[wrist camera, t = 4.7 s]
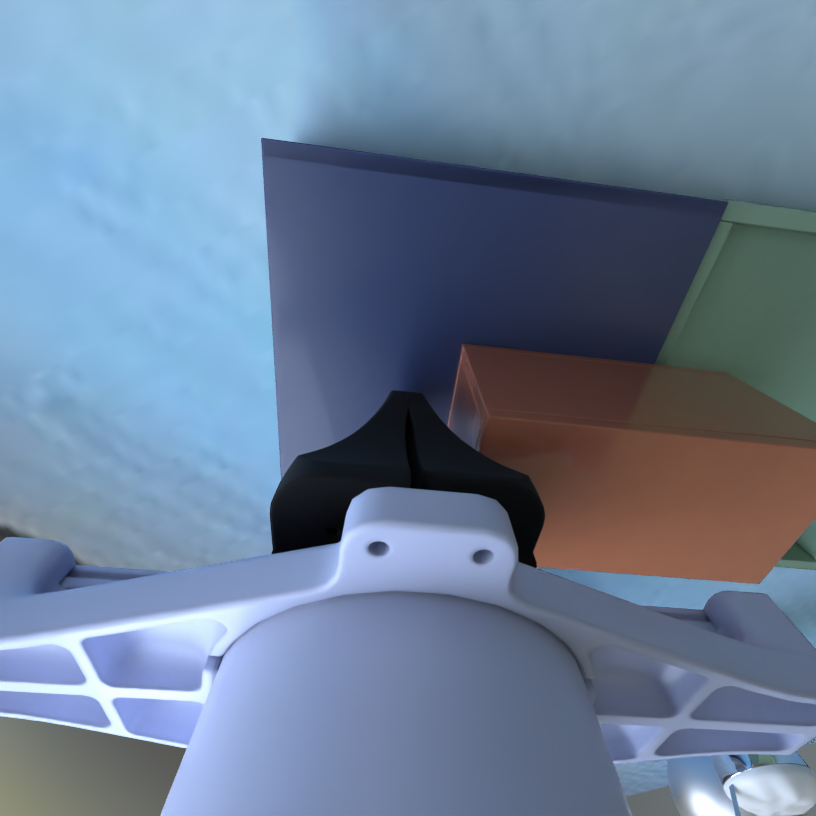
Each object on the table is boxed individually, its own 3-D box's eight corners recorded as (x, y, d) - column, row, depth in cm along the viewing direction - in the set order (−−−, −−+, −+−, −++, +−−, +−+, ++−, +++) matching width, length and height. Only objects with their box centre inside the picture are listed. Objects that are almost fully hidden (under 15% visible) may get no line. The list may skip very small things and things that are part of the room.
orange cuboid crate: (439, 459, 16) (452, 561, 12) (461, 342, 14) (488, 416, 9) (665, 479, 17) (759, 584, 12) (725, 371, 14) (872, 453, 10)
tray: (782, 535, 23) (821, 570, 21) (551, 514, 22) (566, 549, 20) (1022, 245, 15) (1125, 253, 13) (679, 198, 14) (727, 199, 12)
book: (545, 513, 22) (564, 559, 19) (300, 491, 21) (284, 536, 19) (667, 199, 14) (730, 201, 12) (290, 149, 14) (260, 137, 11)
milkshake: (650, 618, 27) (766, 820, 18) (724, 621, 27) (874, 823, 18) (628, 654, 29) (721, 850, 21) (696, 656, 29) (818, 852, 21)
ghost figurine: (669, 761, 39) (745, 927, 30) (632, 727, 35) (706, 904, 26) (765, 736, 36) (879, 911, 27) (735, 696, 32) (856, 882, 24)
